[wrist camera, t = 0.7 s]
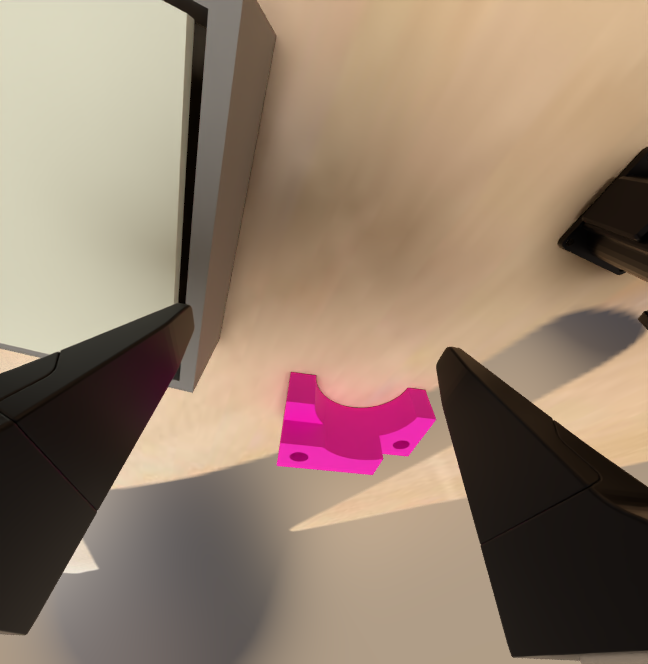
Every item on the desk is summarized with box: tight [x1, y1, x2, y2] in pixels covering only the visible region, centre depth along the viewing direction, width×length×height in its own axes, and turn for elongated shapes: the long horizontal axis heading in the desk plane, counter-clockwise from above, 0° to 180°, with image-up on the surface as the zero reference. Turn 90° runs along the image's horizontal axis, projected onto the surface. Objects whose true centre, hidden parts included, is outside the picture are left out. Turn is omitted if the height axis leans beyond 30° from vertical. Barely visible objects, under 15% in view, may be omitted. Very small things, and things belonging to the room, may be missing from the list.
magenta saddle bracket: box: [277, 372, 436, 475], centre depth 29 cm, size 15×6×8 cm
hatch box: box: [0, 0, 276, 393], centre depth 15 cm, size 14×21×6 cm, turn 159°
